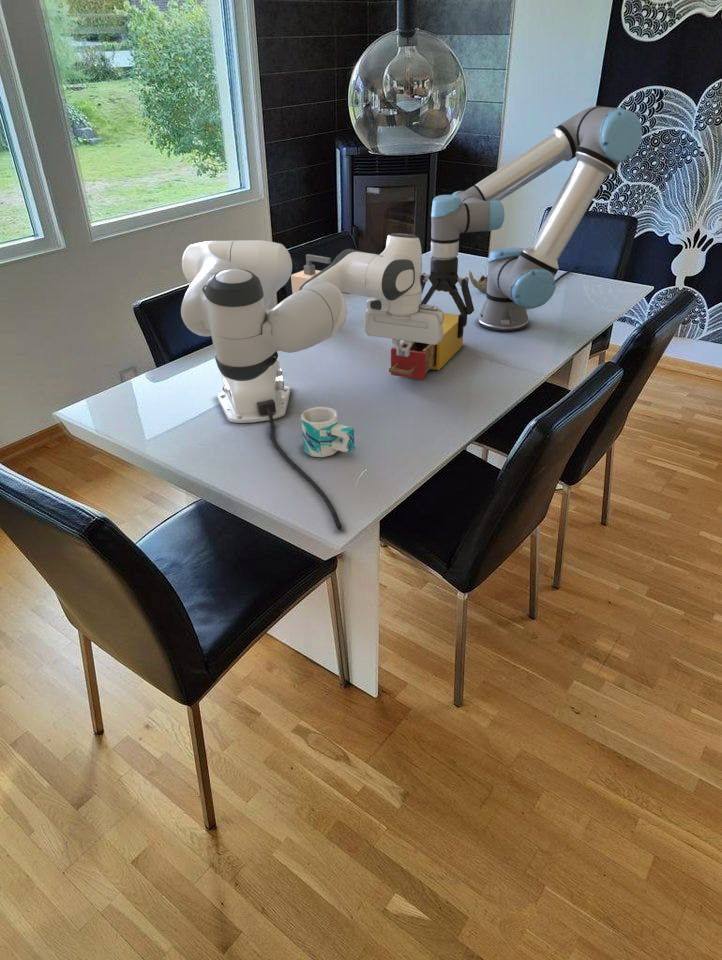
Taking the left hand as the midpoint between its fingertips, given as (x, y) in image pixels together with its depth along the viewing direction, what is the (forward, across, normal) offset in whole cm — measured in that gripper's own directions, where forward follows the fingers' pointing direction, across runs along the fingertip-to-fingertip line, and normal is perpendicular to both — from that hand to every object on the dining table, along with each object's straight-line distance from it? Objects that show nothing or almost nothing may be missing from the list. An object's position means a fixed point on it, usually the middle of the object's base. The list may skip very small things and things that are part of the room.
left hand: (403, 355), depth 170 cm
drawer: (+8, 0, -10) cm, 12 cm away
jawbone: (+9, +3, -86) cm, 86 cm away
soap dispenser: (+9, +44, -34) cm, 56 cm away
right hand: (+5, 0, -30) cm, 30 cm away
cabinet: (+9, 0, -23) cm, 25 cm away
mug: (+9, +3, +36) cm, 37 cm away
